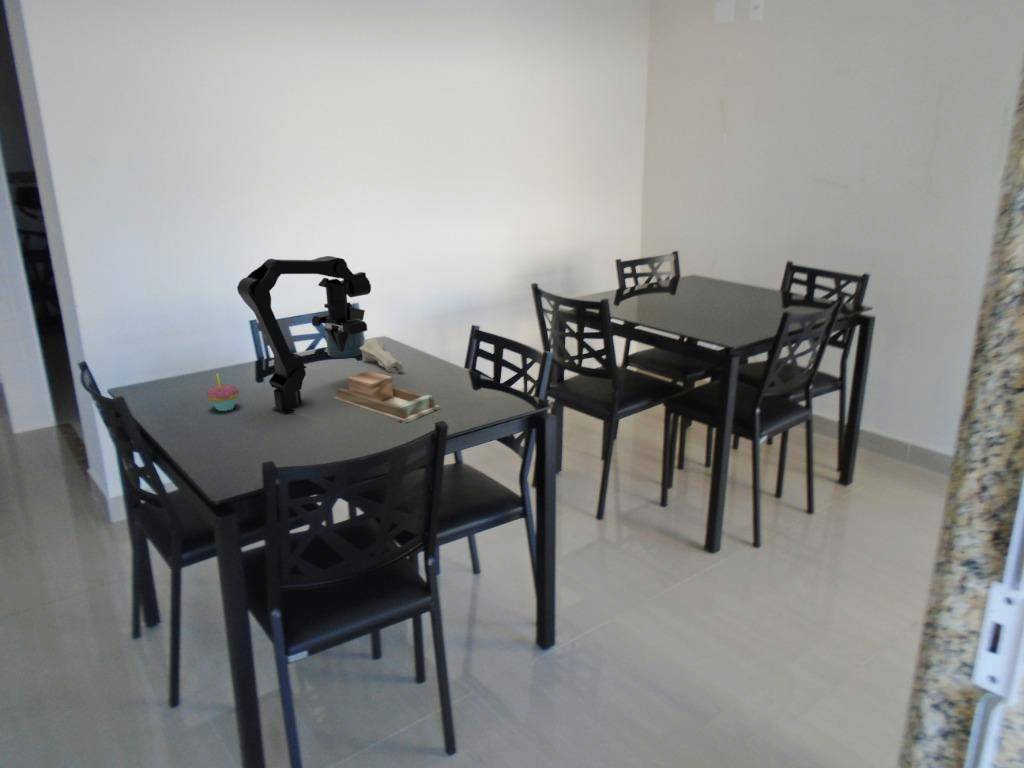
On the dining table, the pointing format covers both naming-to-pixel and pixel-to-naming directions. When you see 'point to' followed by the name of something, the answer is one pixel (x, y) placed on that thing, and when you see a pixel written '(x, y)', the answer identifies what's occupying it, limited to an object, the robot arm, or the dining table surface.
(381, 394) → the crate
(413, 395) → the bay
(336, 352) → the canister
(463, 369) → the dining table surface
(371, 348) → the faceted club
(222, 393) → the cupcake
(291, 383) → the robot arm
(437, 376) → the dining table surface
